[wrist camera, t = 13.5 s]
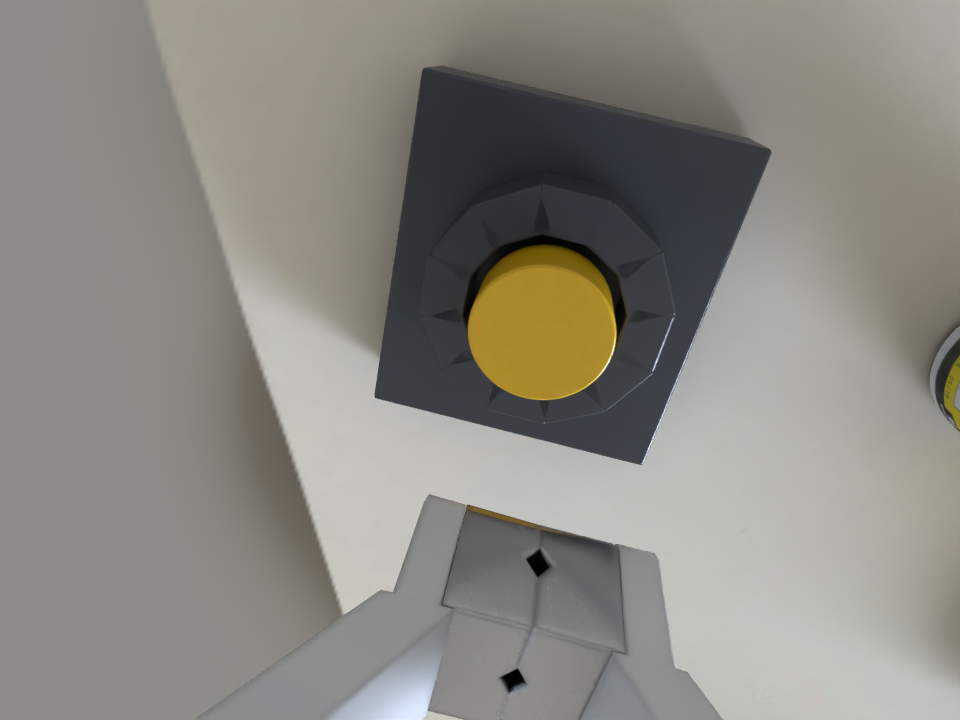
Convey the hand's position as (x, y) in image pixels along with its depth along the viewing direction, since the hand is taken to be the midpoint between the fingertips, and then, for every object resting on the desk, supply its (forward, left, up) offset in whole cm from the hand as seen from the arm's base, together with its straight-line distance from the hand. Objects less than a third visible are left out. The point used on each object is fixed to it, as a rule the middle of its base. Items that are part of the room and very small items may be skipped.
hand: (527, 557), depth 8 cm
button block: (0, 0, -13) cm, 13 cm away
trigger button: (0, 0, -9) cm, 9 cm away
